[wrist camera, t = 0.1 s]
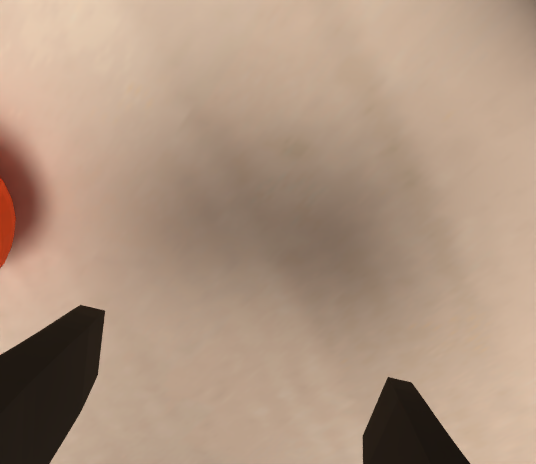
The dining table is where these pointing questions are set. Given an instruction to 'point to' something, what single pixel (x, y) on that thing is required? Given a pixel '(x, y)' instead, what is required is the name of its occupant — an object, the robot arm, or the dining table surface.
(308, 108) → the dining table surface
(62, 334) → the robot arm
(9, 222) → the clementine
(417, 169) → the dining table surface
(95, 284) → the dining table surface
